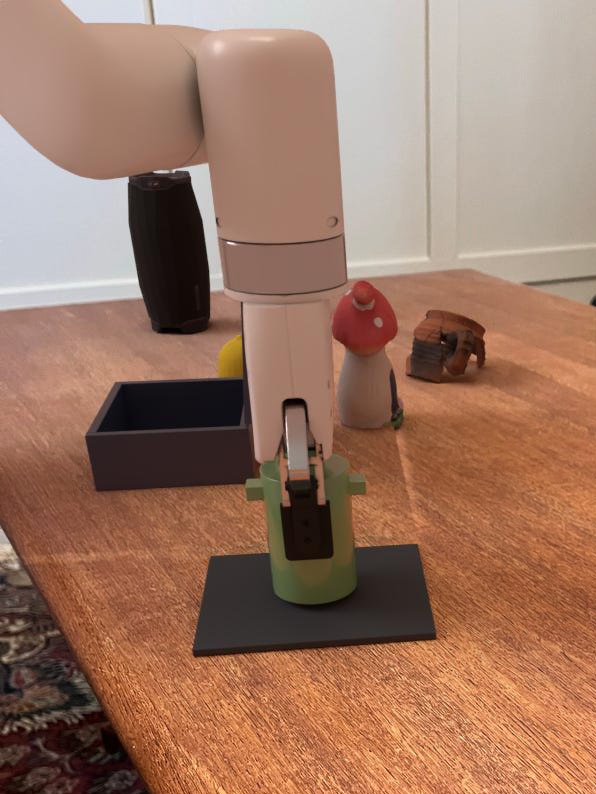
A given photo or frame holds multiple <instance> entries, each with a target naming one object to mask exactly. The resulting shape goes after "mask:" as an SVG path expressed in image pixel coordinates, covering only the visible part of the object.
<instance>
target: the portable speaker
mask: <svg viewBox="0 0 596 794" xmlns="http://www.w3.org/2000/svg"><path fill="white" fill-rule="evenodd" d="M127 178H128V182H127V214H128V215H127V217H128V219H127V220H128V221H127V222H128V229H129V234H130V241H131V246H132V252H133V259H134V264H135V269H136V276H137V281H138V286H139V289H140V293H141V296H142V300H143V302H144V306H145V309H146V312H147V316H148V318H149V320H150V324H151V330H152V331H154V332H156V333H163V332H164V329H179V330H181V332H182V333H183V334H195V333H199V332H203V331H205V330H208V328H209V323H210V320H211V276H210V275H211V274H210V265H209V256H208V249H207V242H206V236H205V235H206V234H205V227H204V220H203V217H202V214H201V213H202V212H201V209H200V206H199V203H198V200H197V197H196V194H195V191H194V187H193V183H192V176H191V174H190V171H189V170H178V169H175V171H174V172H155V171H154V172H148V173H144V174H139V175H134V176H129V177H127Z"/></svg>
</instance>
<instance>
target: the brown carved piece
mask: <svg viewBox="0 0 596 794" xmlns="http://www.w3.org/2000/svg"><path fill="white" fill-rule="evenodd" d="M486 331H487V330H486V328H485V327H484V326H483V325H482V324H481V323H478V321H476V320H474V319H473V318H470V317H468V316H465V315H462V314H460V313H457V312H453V311H448V310H443V309H429V310H427V312H426V313H425V318H424V320H422V321H420V323H419V324H418V325H417V326H416V327H415V328H414V329H413V331H412V332H413V336H414V337H413V341H412V347H411V353H410V354H409V355H407V357H406V359H405V375H407V376H416V377H417V378H421V379H424V380H429V381H430V382H436V383H438V384H439V383H441V380H442V374H443V372H444V368H445V370H446V372H447V373H449V374H450V375H451V376H453V377H455V376H456V377H457V376H461V375H464V374H465V373H466V369H467V367H468V363H469V360H470V359H471V356H472V355H474V356H475V357H476V366H477V368H478V369H480V368H481V367H484V366H485V363H486V355H487V352H486V347H485V346H486V341H485V340H484V335H485V334H486Z"/></svg>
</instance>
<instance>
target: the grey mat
mask: <svg viewBox="0 0 596 794" xmlns="http://www.w3.org/2000/svg"><path fill="white" fill-rule="evenodd" d="M355 552H356V566H357V586H356V588H355V589H354V591H353V592H351V593H350V594H349V595H347V596H346V597H343V598H341V599H339V600H336V601H333V602H328V603H323V604H297V603H292V602H289V601H286V600H283V599H281V598H280V597H278V596H277V595H276V593H275V592H274V590H273V583H272V575H271V566H270V558H269V552H255V553H240V554H239V553H238V554H237V553H236V554H222V555H221V554H220V555H210V556H209V560H208V567H207V572H206V577H205V582H204V587H203V592H202V597H201V602H200V608H199V613H198V617H197V618H198V619H197V623H196V628H195V633H194V639H193V643H192V648H191V649H192V650H191V651H192V656H193V657H203V656H217V655H229V654H245V653H258V652H271V651H284V650H285V651H286V650H298V649H300V650H301V649H314V648H325V647H340V646H356V645H366V644H367V645H369V644H382V643H396V642H409V641H422V640H423V641H424V640H436V639H437V630H436V624H435V620H434V615H433V611H432V605H431V600H430V596H429V592H428V586H427V583H426V582H427V581H426V577H425V572H424V568H423V563H422V558H421V553H420V548H419V545H418V543H404V544H401V543H400V544H386V545H371V546H355Z"/></svg>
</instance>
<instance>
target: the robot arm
mask: <svg viewBox="0 0 596 794" xmlns="http://www.w3.org/2000/svg"><path fill="white" fill-rule="evenodd" d="M335 76H336V75H335V65H334V59H333V55H332V52H331V49H330V47H329V45H328V44H327V42H326V40H325V39H324V38H322V36H320V35H319V34H317V33H315V32H312V31H310V30H306V29H305V30H303V29H295V28H294V29H292V28H230V29H220V30H210V29H205V28H199V27H195V26H194V27H193V26H189V25H188V26H187V25H179V24H155V23H154V24H152V23H151V24H147V23H140V22H84V21H83V20H81V18H79V17H78V16H77V15H76V13H74V12H73V11H72V10H71V9H70V8H69V7H68V6H67V5H66V4H65V3H64V2H63V1H62V0H0V116H1V117H2V118H3V119H4V121H6V123H7V124H9V126H11V127H12V129H13V130H14V131H15V132H16V133H17V134H18V135H19V136H20V137H21V138H22V139H24V141H25V142H27V144H29V145H30V146H31V147H32V148H33V149H34V150H35V151H37V153H39V154H40V155H42V156H43V157H45V159H47V160H48V161H50V162H51V163H53V164H54V165H56V166H57V167H59V168H60V169H62V170H64V171H66V172H69V173H71V174H73V175H75V176H78V177H80V178H85V179H91V180H96V181H107V180H108V181H109V180H115V179H116V180H117V179H122V178H128V177H129V176H134V175H139V174H144V173H148V172H154V173H155V172H160V171H171V170H172V171H173V170H178V169H183V168H190V167H195V166H200V165H205V164H206V165H207V164H208V172H209V179H210V186H211V188H210V189H211V196H212V204H213V213H214V219H215V226H216V227H215V228H216V234H217V237H216V238H217V243H218V244H217V246H218V253H219V261H220V269H221V278H222V285H223V291H224V296H225V297H227V298H228V299H230V300H233V301H237V302H240V303H241V302H243V327H244V343H245V355H246V365H247V375H248V385H249V395H250V404H251V414H252V425H253V436H254V448H255V459H256V460H257V461H258V463H259V464H260V465H261V464H262V465H266V463H267V461H274V459H275V456H277V455H278V457H279V461H278V463H279V469H280V481H281V493H282V503H280V513H281V522H282V531H283V540H284V549H285V557H286V559H287V560H289V561H300V560H316V559H329V558H332V557H333V555H334V547H333V535H332V523H331V510H330V500H326V498H325V485H324V472H323V462H325V461H326V460H328V459H329V458H330V457H331V456H332V453H333V444H334V443H333V442H334V427H335V426H334V423H335V369H334V347H333V335H332V328H331V324H332V318H331V302H330V300H331V299H334V298H338V297H340V296H344V295H345V294H346V292H348V291H349V280H348V279H349V278H348V263H347V262H348V261H347V247H346V233H345V219H344V218H345V217H344V200H343V186H342V167H341V165H342V164H341V151H340V138H339V135H340V134H339V121H338V108H337V107H338V105H337V90H336V89H337V88H336V77H335ZM308 451H316V456H309V455H308ZM285 453H288V457H285ZM322 457H323V458H322ZM309 466H315V477H316V479H315V477H314V475H310V467H309ZM316 489H317V492H316Z"/></svg>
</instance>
